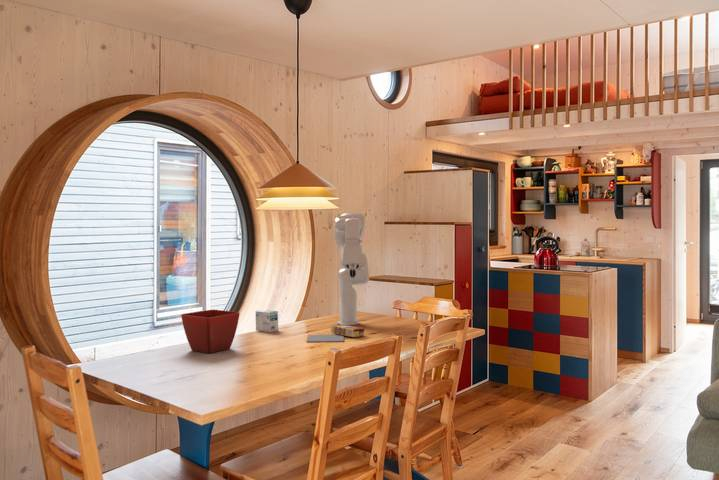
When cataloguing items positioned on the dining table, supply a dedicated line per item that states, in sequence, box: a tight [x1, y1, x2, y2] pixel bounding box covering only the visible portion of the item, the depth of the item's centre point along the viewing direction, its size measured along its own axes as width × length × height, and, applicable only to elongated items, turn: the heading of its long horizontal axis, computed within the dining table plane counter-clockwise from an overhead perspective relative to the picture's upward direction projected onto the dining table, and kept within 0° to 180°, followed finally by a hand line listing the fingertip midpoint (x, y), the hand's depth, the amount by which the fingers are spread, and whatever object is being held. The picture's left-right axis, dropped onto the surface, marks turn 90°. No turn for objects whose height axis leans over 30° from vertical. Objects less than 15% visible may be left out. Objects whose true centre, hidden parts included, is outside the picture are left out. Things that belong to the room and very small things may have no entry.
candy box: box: [330, 324, 366, 338], centre depth 302 cm, size 9×4×15 cm
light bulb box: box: [255, 309, 279, 333], centre depth 316 cm, size 11×7×11 cm, turn 58°
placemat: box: [306, 334, 345, 343], centre depth 293 cm, size 16×18×1 cm
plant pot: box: [180, 309, 240, 354], centre depth 270 cm, size 19×19×17 cm
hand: (352, 277), depth 307 cm, fingers closed
